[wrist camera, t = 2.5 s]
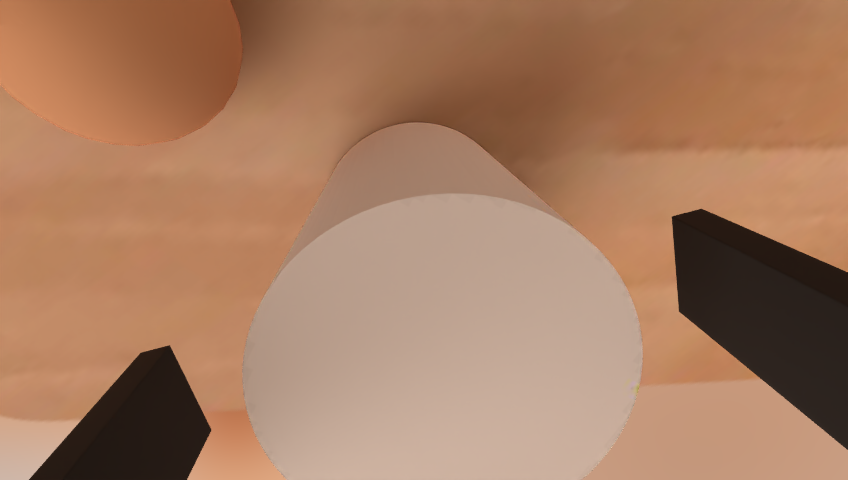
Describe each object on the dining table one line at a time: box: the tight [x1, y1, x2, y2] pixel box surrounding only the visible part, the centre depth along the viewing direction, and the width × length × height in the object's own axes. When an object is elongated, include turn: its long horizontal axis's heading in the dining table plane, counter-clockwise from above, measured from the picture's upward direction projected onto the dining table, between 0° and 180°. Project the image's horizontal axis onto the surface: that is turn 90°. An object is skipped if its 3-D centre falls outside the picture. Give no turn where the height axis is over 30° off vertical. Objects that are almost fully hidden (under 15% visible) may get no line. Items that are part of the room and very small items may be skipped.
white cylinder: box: [242, 122, 643, 480], centre depth 16 cm, size 8×8×12 cm
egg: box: [0, 0, 243, 146], centre depth 14 cm, size 6×6×8 cm
